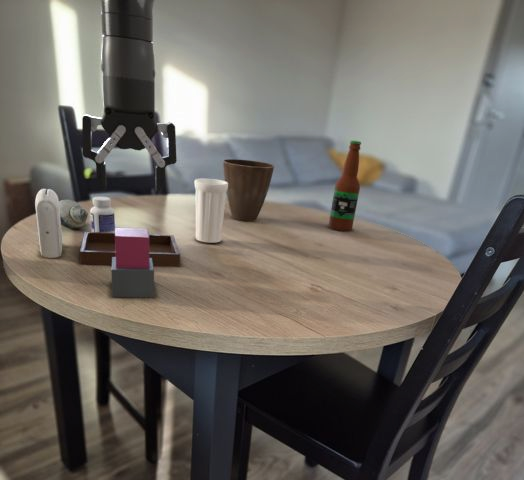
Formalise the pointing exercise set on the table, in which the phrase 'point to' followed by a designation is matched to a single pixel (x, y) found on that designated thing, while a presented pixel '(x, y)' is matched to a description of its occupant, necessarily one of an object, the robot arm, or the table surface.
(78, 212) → the seashell
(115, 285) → the grey block
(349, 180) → the bottle
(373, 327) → the table surface
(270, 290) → the table surface
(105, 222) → the pill bottle
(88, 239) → the tray
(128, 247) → the pink block
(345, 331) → the table surface
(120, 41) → the robot arm
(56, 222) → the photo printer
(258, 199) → the flower pot
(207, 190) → the cup
